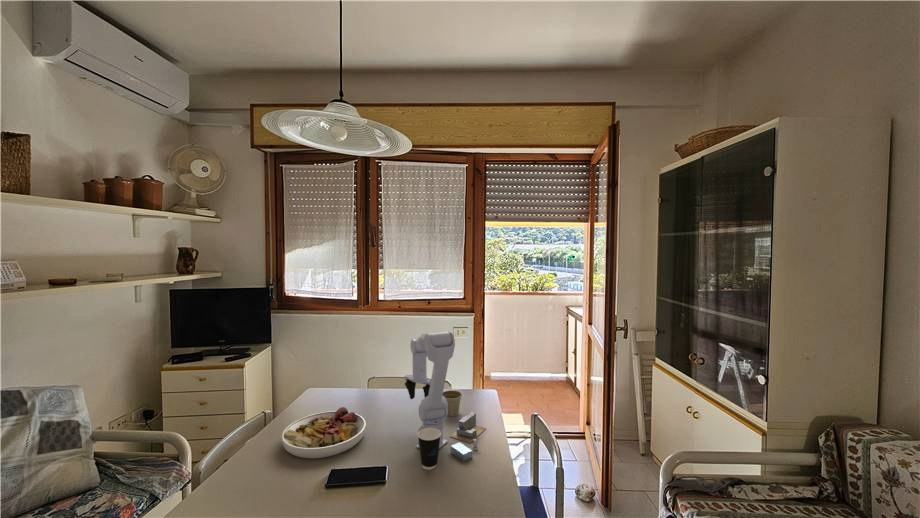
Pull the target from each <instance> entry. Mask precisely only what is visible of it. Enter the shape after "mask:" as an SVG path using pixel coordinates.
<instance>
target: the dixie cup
mask: <svg viewBox="0 0 920 518" xmlns="http://www.w3.org/2000/svg"><path fill="white" fill-rule="evenodd" d="M440 436H441V432H440V430H438V429H435V428H425V429H422V430H420V431H419V432H418V431H417V438H418V437H419V446H420V448H419V452H420V453H419V454H420V463H421V465H422V467H421V468H423V469H424V470H428V471H429V470H433V469H436V467H437V464H438V460H439V453H440V448H439V443H440Z"/></svg>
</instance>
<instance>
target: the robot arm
mask: <svg viewBox="0 0 920 518" xmlns="http://www.w3.org/2000/svg"><path fill="white" fill-rule="evenodd" d="M455 345H456V339H455V336H454V333H453V332H452V331H450V330H448V331H439V332H430V333H429V332H428V333H422V334H421V336H419V337H418V338H416V339H414V338H412V339H411V341H410V351H411V354H412V374H405V375H404V381H405V382H404V386H405V388H406V389H407V392H408V395H409V399H410V400H413V399H415V396H416V384H421V385H423V387H422V391H423V394H424V398H422V399H421V401H420V404H419V406H418V416H419V419H420V421H421V422H422V424H421V426H420V427H419V429H418V430H417V433H418V432H419V431H420V430H422V429H425V428H435V429H438V430H440V432H441V436H440V443H439V449H440V448H442V447H443V446H445V445H446V444H447V443H448V442H449V441H448V440H447V439H444V421H445V419H446V418H447V417H448V416H447V414H448V403H447V401H446V399H445V397H444V396H442V395H443V392H444V388H445V384H446V383H445V382H446V378H447V374H448V373H447V372H448V368H449V363H450V359H452V358H453V356H454V351H455ZM427 360H428V361H430V362H432V363H433V367H432V372H431V378H429V377H428V376H427ZM424 385H425V386H424ZM415 447H416V448H418V449H420V446H419V437H418V436H417V444H416V446H415Z"/></svg>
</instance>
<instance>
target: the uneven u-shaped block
mask: <svg viewBox="0 0 920 518" xmlns="http://www.w3.org/2000/svg"><path fill="white" fill-rule="evenodd" d="M474 426H477V413H476V412H473V411H470V412H469V413H467V414H466V415H465V416H463V417H462V418H461V419H460V420H458V427H457V428H456V431H457V436H461V437H464V438H467V439H471V440H472V439H473V438H475V437H476V429H472V428H473V427H474ZM471 429H472V430H471ZM475 439H476V438H475Z"/></svg>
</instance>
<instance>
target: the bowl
mask: <svg viewBox="0 0 920 518" xmlns="http://www.w3.org/2000/svg"><path fill="white" fill-rule="evenodd" d="M366 422H367V421H366V420H365V418H364V417H363V416H361V415H360V414H358V413H355V412H354V411H348V409H347V408H346V407H344V406H341V407H339V408H338V409H337V410H331V411H330V410H328V411H322V412H318V413H312V414H309V415H306V416H304V417H301V418H299V419H297V420H295V421H293V422H291V423H290V424H289V425H288V426H286V427H285V429H284V430H283V431H282V434H281V443H282V446H283V448H284V449H285V450H286V452H288V453H289V454H291V455H292V456H295V457H298V458H303V459H321V458H329V457H333V456H336V455H339V454H342V453H343V452H346V451H348V450H350V449H352V448H353V447H355V446H356V445H357V444H358V443H359V442H360V441H361V439H362V438H363V437H364V434H365V432H366V428H367V423H366Z"/></svg>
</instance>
